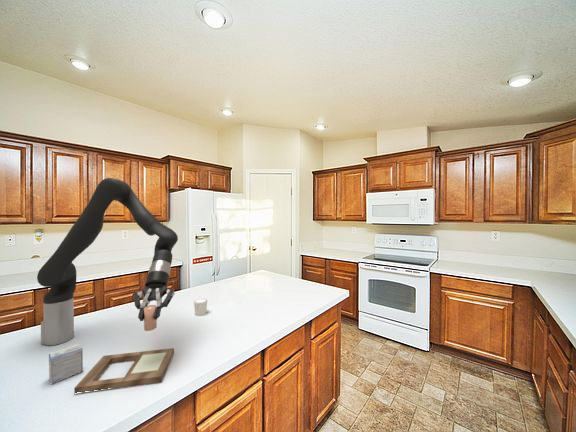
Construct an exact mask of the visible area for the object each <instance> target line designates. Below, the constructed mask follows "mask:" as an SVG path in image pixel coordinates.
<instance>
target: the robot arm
mask: <svg viewBox="0 0 576 432" xmlns="http://www.w3.org/2000/svg"><path fill="white" fill-rule="evenodd" d="M113 201H116V202H117V201H118V202H119V203H120V204H122V206H124V207H125V208H126V209H127V210H129V212H130V214H131V216H132V218H133V220H134V221H135V223H136V224H137V226H138V227H140V229H142V231H143V232H144V233H145V234H146V235H148V236H151V237H152V236H155V235H156V236H157V237H158V238H157V240H156V243H155V245H154V249H153V250H154V252H153V253H154V254H153V257H152V261H151V265H150V267H149V270H148V272H147V276H146V281H145V284H144V288H143V289H142V290H140V291H134V292H133V294H132V295H133V301H134V306H135V308H136V310H139V312H138V314H137V318H138V319H139V321H140V322H144V307H146V306H149V304H150V303H151V302H152V301H155V302H156V308H155V313H154V320H157V321H158V319H159V318H160V316H161V312H162V309H163V308H167V307H168V306H169V304H170V302H171V300H172V299H173V297H174V296H175V290H174V289H173V288H172V289H168V285H169V281H170V276H171V270H172V269H171V266H172V261H173V253H172V250H173V248H174V247H175V245H176V244H177V242H178V241H179V238H178V235H177V233H176V232H175V231H174V230H173V228H170V227H168V226H167V225H165V224H164V223H161V222H160V221H159V220H158V218H156V217H155V215H153V214H152V213H151V212H150V210H149V209H147V207H146V206H145V205H144V203H142V201H141V200H140V199H139V198H138V196H137V195H136V194H135V192H134V191H133V189H132V188H131V186H130V185H129V184H128V183H127V182H126V181H123V180H120V179H117V178H113V177H106V178H103V179H102V180H101V181H99V183H98V184H97V186H96V188H95V190H94V192H93V193H92V196H91V198H90V200H89V201H88V203H87V205H86V206H85V207H84V209H83V211H82V213H80V215H79V216H78V218H77V220H76V221H75V222H74V223H73V225H72V226H71V228H70V229H69V230H68V232H67V234H66V236H65V237H64V238H63V240H62V241H61V242H60V244H59V245H58V247H57V248H56V250H55V252H53V254H51V256H50V257H49V259H48V260H47V261H45V263H44V264H43V265H42V266H41V268H40V269H39V271H38V273H37V276H36V281H37V283H38V284H39V285H40V286H42V287H45V288H49V289H48V291H47V292H46V293H45V294H44V295H43V298H42V303H43V308H42V309H43V320H42V321H40V345H42V346H43V345H44V346H50V347H51V346H56V345H60V344H64V343H66V342H68V341H70V340H71V339H74V337H75V311H74V310H75V307H74V298H75V297H74V294H75V292H76V289H77V269H76V268H77V267H76V266H75V264H74V263H73V262H74V261H75V259H76V258H77V257H78V256H80V254H82V253H83V252H84V251H85V250H86V249H88V248H89V247H90V246H91V245H92V244H93V243H94V241H96V239H97V238H98V235H99V234H100V233H101V231H103V230H102V229H103V226H104V219H105V218H104V217H105V213H106V211H107V209H108V208H109V207H110V205H111V204H112V203H113ZM165 295H166V296H165ZM142 296H144V297H143V299H142V302H141V298H142ZM164 296H165V298H164V300H163V297H164Z"/></svg>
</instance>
